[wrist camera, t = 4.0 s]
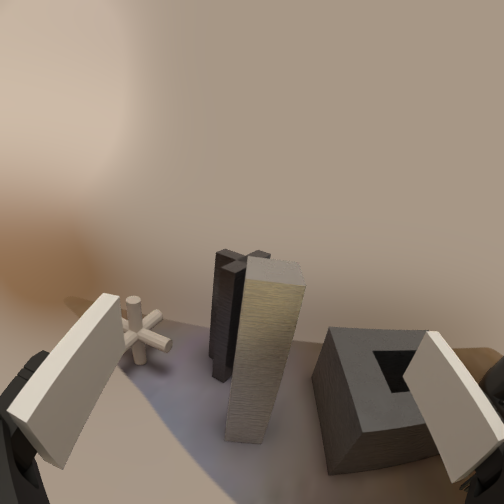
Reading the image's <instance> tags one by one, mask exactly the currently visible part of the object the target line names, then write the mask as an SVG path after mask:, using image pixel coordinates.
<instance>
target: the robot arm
mask: <svg viewBox="0 0 504 504" xmlns="http://www.w3.org/2000/svg"><path fill="white" fill-rule="evenodd" d="M125 350H126V347H125V340H124V332H123V324H122V316H121V307H120V297H119V296H115V295H111V294H106V293H103V294H102V295H101V296H100V297H99V298H98V299H97V300H96V301H95V302H94V303H93V305H92V306H91V307H90V308H89V309H88V310H87V311H86V312H85V313H84V314H83V316H82V317H81V318H80V319H79V320H78V321H77V322H76V323H75V325H74V326H73V327H72V328H71V329H70V330H69V331H68V333H67V334H66V335H65V336H64V337H63V338H62V340H61V341H60V342H59V343H58V344H57V346H56V347H55V348H54V349H53V351H52V352H51V353H49V352H46V351H44V350H43V351H41V352H39V353H38V354H36V355H34V356H33V357H31V358H30V360H29V361H28V362H27V363H26V364H25V365H24V368H23V369H21V370H20V372H19V373H18V374H17V376H16V377H15V378H14V379H13V380H12V382H11V383H10V384H9V385H8V387H7V388H6V389H5V390H4V392H3V393H2V395H1V396H0V504H50V503H49V500H48V497H47V495H46V492H45V489H44V486H43V482H42V479H41V476H40V473H39V469H38V466H37V463H36V460H35V458H34V457H35V455H36V453H38V454H39V455H40V456H41V457H42V458H43V460H44V461H46V462H48V463H50V464H52V465H54V466H56V467H58V468H60V469H62V470H63V469H64V466H65V464H66V462H67V460H68V458H69V456H70V454H71V452H72V449H73V447H74V445H75V443H76V441H77V439H78V437H79V435H80V433H81V431H82V429H83V427H84V425H85V423H86V421H87V419H88V417H89V415H90V413H91V411H92V410H93V408H94V406H95V404H96V402H97V400H98V398H99V396H100V394H101V393H102V391H103V389H104V387H105V385H106V383H107V382H108V380H109V378H110V376H111V374H112V373H113V371H114V369H115V367H116V366H117V364H118V362H119V360H120V359H121V357H122V355H123V353H124V352H125ZM403 378H404V380H405V382H406V384H407V386H408V388H409V390H410V392H411V394H412V396H413V398H414V400H415V402H416V404H417V406H418V408H419V410H420V412H421V414H422V416H423V418H424V420H425V422H426V424H427V427H428V429H429V431H430V433H431V435H432V437H433V440H434V442H435V444H436V446H437V449H438V451H439V453H440V456H441V458H442V460H443V463H444V465H445V468H446V470H447V472H448V475H449V477H450V480H451V483H454V482H457V481H459V480H461V479H464V478H465V477H467V476H468V475H469V474H470V473H471V472H472V471H474V470H475V471H476V474H475V475H473V476H472V477H471V478H470V479H469V480H467V481H466V482H465V483H464V484H463V485H461V487H460V489H459V490H462V489H463V488H465V487H466V486H467V485H468V484H470V485H469V486H468V487H467V488H466V489H465V490H464V491H466V492H468V494H467V497H466V501H465V504H504V356H503V357H502V358H501V359H500V360H499V361H498V362H497V363H496V364H495V365H494V366H493V367H492V368H490V369H489V370H488V371H487V372H486V374H485V375H484V377H483V378H482V380H481V381H480V384H479V386H478V384H477V383H476V381H475V380H474V379H473V377H472V376H471V374H470V373H469V372H468V370H467V369H466V367H465V366H464V365H463V363H462V362H461V361H460V359H459V358H458V357H457V355H456V354H455V353H454V351H453V350H452V349H451V348H450V346H449V345H448V344H447V342H446V341H445V340H444V339H443V338H442V336H441V335H440V334H439V332H434V331H432V332H430V331H426V333H425V335H424V337H423V339H422V341H421V343H420V345H419V347H418V349H417V351H416V353H415V355H414V357H413V358H412V360H411V362H410V364H409V366H408V368H407V369H406V371H405V373H404V375H403Z"/></svg>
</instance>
